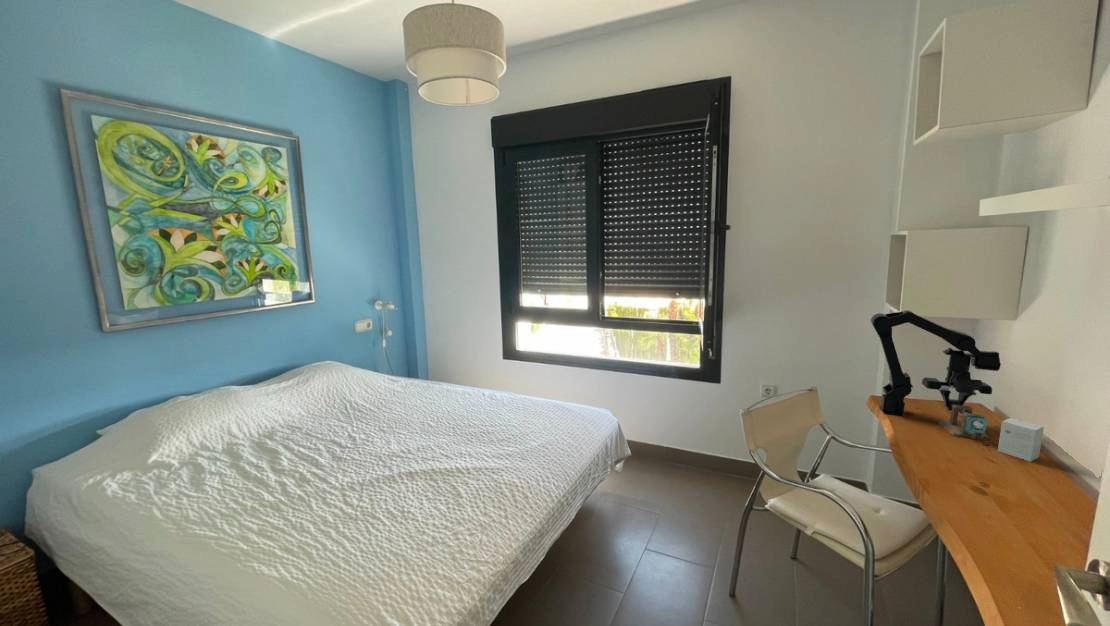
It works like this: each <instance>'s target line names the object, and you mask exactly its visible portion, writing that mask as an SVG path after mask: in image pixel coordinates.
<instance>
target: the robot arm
mask: <svg viewBox="0 0 1110 626" xmlns="http://www.w3.org/2000/svg"><path fill="white" fill-rule="evenodd" d="M870 323H871V325H872V327H873V328H874V331H875V332H876V334H877V336H878V337H879V340H880V343H881V347H882V349H883V353H884V357H885V360H886V363H887V366H888V371H889V383H888V384H886V385H884V386H883V387H882V391H883V392H884V394H882V393H881V394H882V395H881V400H880V406H878V408H879V410H880V411H881V412H882V413H883V414H887V415H894V414H895V415H896V416H904V415H905V414H904V411H905V405H906V403H905V402H904V399H905V397H907V396H909V395H910V394H911V393H912V390H913V389H912V388H914V386H913V384H912V383H911V377H910V375H909V374H908V372H904V373H903V370H902V367H901V362H900V359H899V357H898V353H897V350H896V347H895V344H894V340H893V328H894V327H897V326H900V325H903V324H907V323H908V324H910V325H913V326H915V327H917V328H920V329H922V330H923V331H926V332H929V333H931V334H933V335H935V336H937V337H939V338H941V339H942V340H944V341H946V342H947V343H949V344H950V345H951V346H953V347H954V348H956V349H953V348H952V347H948V348H947V349H945V350H943V351H942V352H943V353H944V354H945V356H949V358H948V359H949V360H948V366H947V367H946V371H947V374H946V377H945V378H944V381H940V380H939V379H938V378H935V377H934V378H933V377H924V378H923V379H922V380H921V385H923V386H924V387H925V388H926V389H928V390H938V391H939V392H940V394H941V395H940V396H941V397H942V400H943V403H944V406H945V408H946V407H948V405H949V399H950V394H951V393H952V391H951V390H950V388H952V389H953V388H954V389H955V391H956V392H957V393H958V396H957V397H958V398H957V400H959V401H960V405H963V406H964V404H965V402H966V401H967V400H968V399H969V398H970V397H972V396H976V395H977V393H976V391H978V392H979V393H980V394H983V395H992V394H993V388H992V387H991V385H989V384H987V383H986V382H984V381H982V380H981V379H972V377H971V372H970V367H971V366H972V367H974V369H976V370H980V371H992V372H998V371H1000V369H1001V359H1000V353H999V352H998V351H993V350H991V351H987V350H986V351H985V350H979V348H978V347H976V339H975V338H974V337H972V336H971V335H969V334H968V333H966V332H964V331H959V330H956V329H952V328H948V327H945V326H942V325H940V324H938V323H936V322H933V321H931V320H929V319H927V318H925V317H922V316H920V315H918V314H916V313H914V312H913V311H911V310H903V311H898V312H897V311H895V312H890V313H881V312H880V313H876V314H875V313H874V315H872V317H871V318H870ZM965 352H968V353H965Z"/></svg>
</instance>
